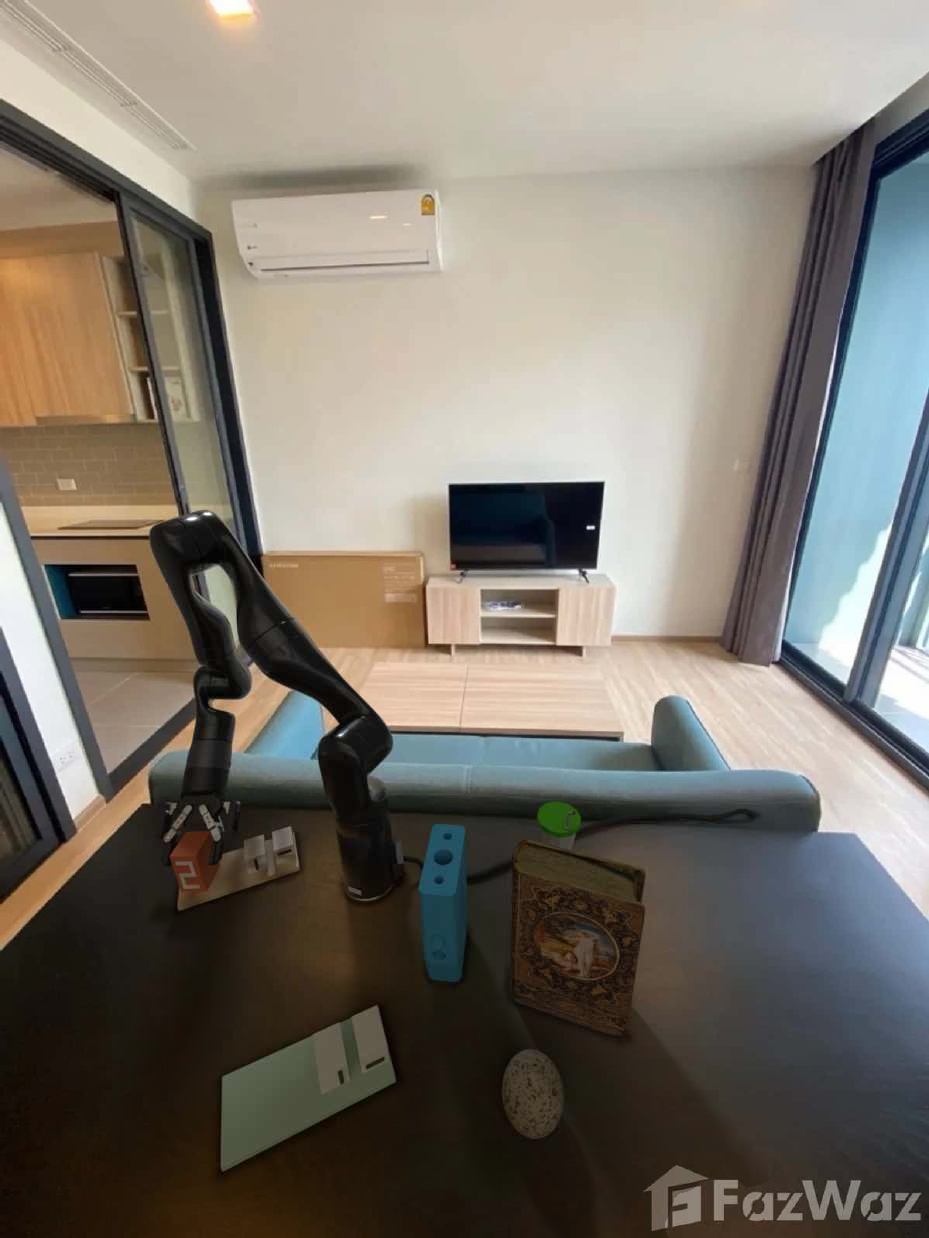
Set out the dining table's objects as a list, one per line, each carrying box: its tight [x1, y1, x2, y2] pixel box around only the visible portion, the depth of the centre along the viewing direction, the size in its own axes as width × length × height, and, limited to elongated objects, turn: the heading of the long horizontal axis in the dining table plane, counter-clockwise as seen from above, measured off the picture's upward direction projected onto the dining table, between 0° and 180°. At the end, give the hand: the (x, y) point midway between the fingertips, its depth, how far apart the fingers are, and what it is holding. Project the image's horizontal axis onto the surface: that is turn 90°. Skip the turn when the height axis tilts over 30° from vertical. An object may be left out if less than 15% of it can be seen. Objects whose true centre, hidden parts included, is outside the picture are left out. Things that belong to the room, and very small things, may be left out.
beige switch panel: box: [176, 825, 301, 912], centre depth 92 cm, size 20×9×4 cm, turn 113°
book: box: [508, 839, 646, 1038], centre depth 66 cm, size 16×6×25 cm, turn 71°
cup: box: [536, 800, 582, 850], centre depth 91 cm, size 8×8×15 cm
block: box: [418, 823, 468, 983], centre depth 74 cm, size 12×5×20 cm, turn 173°
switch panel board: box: [220, 1004, 397, 1172], centre depth 62 cm, size 20×9×4 cm, turn 113°
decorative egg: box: [501, 1048, 565, 1140], centre depth 58 cm, size 7×7×10 cm
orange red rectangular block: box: [170, 830, 220, 892], centre depth 88 cm, size 4×6×8 cm
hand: (190, 865), depth 86 cm, fingers open, 7 cm apart
